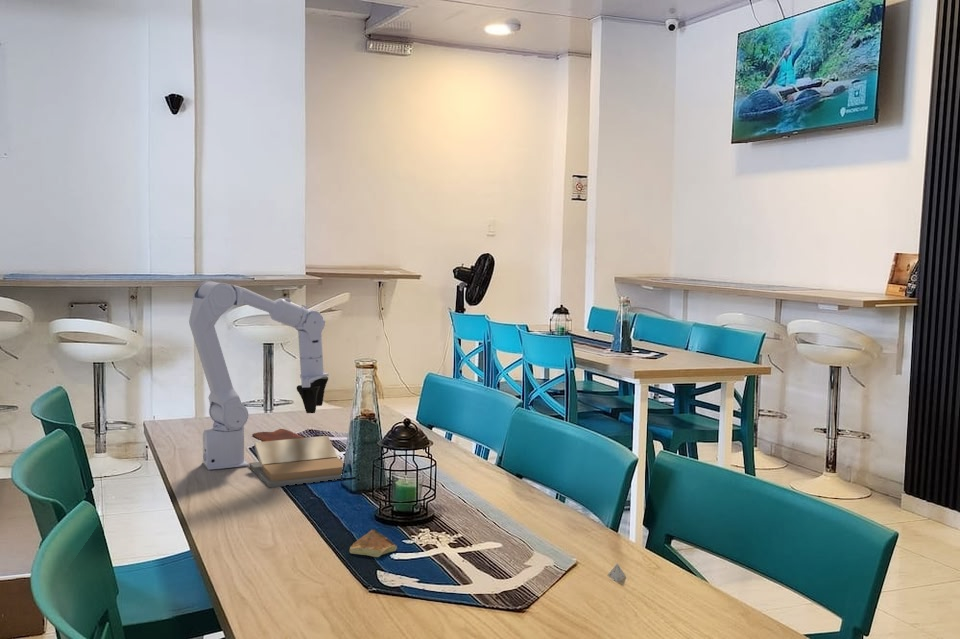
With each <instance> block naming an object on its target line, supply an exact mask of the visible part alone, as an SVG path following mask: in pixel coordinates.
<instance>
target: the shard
mask: <svg viewBox="0 0 960 639" xmlns="http://www.w3.org/2000/svg"><path fill="white" fill-rule="evenodd" d="M397 549H398V545H396V544H395V543H394V542H393V541H391V539H389V538H388V537H387V536H385V535H383V533H380V532H378V531H377V530H376V529H375V528H372V529H371V530H370V531H368V532H367V533H366V534H364V535H363V536H361V537H360V538H358V539H357V540H356V541H355V542H353V544H352V545H351V546H350V547H349V553H350V554H354V555H362V556H369V557H375V558H380V557H381V556H382V555H386V554H388V553H393V552H395V551H397Z"/></svg>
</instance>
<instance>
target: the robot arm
mask: <svg viewBox="0 0 960 639" xmlns="http://www.w3.org/2000/svg"><path fill="white" fill-rule="evenodd" d="M242 304H244V305H247V306H249V307H251V308H255V309H258V310H260V311H264V312H266V313H268V314H269V316H270V318H271V320H273V321H274V322H277V323H281V324H283V325H285V326H289V327H291V328H293V329H295V330H296V331H298V332H297V336H298V353H299V366H300V374H299V378H300V380H301V384H300V385H297V386H296V391H297V392H298V394H299V396H300V397H301V399H302V403H303V405H304V409H305V412H306V414H315V413H316V410H317V407H319V406H320V407H321V406H323V403H324V397H325V390H326V387H327V384H328V381H329V372H324V360H323V359H324V358H323V342H322V341H323V339H322V336H323V335H322V332H323V329H324V328H325V326H326V325H325V324H326V320H324V317H323V315H321V314H322V313H320V312H319V311H317V310H311V309H308V306H307V305H305V304H302V305H299V304H297V303H294V302H292V299H291V298H288V297H284V298H282V297H281V298H277V299H275V300H273V299H271V298H268V297H266V296H264V295H261V294H258V293H257V292H255V291H252V290H251V289H247V288H245V287H241V286H238V285H233V284H232V285H231V284H229V283H226V282H216V281H213V280H205V281H203V282H201V283H200V284H199V285H198V286H197V288H196V289H195V291H194V292H193V293H192V305H191V310H190V315H189V320H188V322H189V327H190V331H191V334H192V337H193V341H194V343H195V346H196V350H197V353H198V356H199V360H200V363H201V365H202V368H203V371H204V376H205V379H206V382H207V384H208V389H209V391H210V392H209V395H208V402H209V407H208V414H209V417H210V419H211V420H212V421H213V424H212V428H211V429H204V431H203V433H202V464H203V465H204V466H205V467H206V468H207V470H208V471H211V470H221V469H230V468H240V467H249V463H250V462H249V463H248V461H247V460H246V459H245V425H246V424H247V422H248V420H249V411H248V408H247V407H246V405H244V404H243V403H242V401H241V398H240V395H239V394H238V392H237V391H236V390H235V388H234V386H233V384H232V380H231V376H230V374H229V371H228V367H227V364H226V360H225V357H224V354H223V350H222V347H221V344H220V341H219V338H218V337H219V336H218V334H217V331H216V328H215V327H216V326H215V325H216V324H217V322H218V321H219V319H220V317H221V316H223V315H224V314H225V313H226V312H227V311H228V310H229V309H232V307H233V306H239V305H242Z"/></svg>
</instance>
